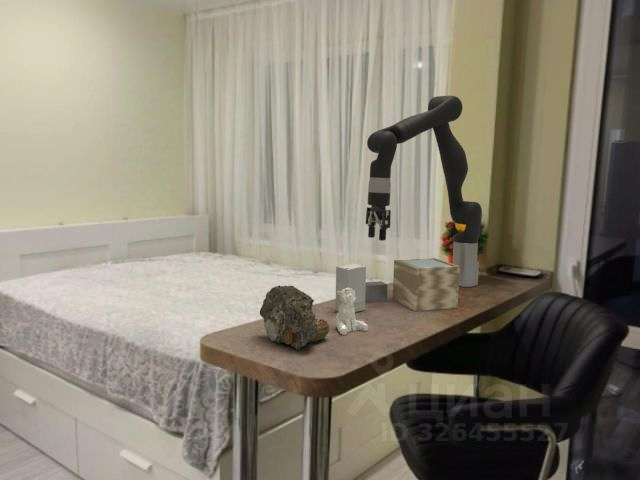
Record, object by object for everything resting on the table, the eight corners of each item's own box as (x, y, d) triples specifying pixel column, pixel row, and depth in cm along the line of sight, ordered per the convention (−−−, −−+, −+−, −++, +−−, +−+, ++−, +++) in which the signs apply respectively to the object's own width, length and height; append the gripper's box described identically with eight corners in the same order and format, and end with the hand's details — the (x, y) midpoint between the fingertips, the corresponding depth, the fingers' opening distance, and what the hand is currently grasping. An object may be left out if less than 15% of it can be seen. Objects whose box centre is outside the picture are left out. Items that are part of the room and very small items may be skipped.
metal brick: (380, 297, 186) (381, 281, 186) (386, 301, 182) (387, 284, 181) (359, 299, 184) (360, 282, 183) (365, 302, 179) (366, 285, 178)
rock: (262, 280, 132) (311, 265, 140) (251, 311, 142) (297, 295, 150) (297, 341, 124) (347, 320, 132) (283, 368, 134) (330, 348, 142)
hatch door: (432, 261, 186) (433, 259, 185) (452, 268, 173) (453, 265, 173) (399, 263, 181) (399, 260, 181) (417, 270, 169) (417, 267, 169)
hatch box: (432, 296, 189) (434, 258, 187) (457, 307, 174) (459, 266, 172) (392, 299, 184) (394, 260, 182) (414, 311, 169) (416, 268, 167)
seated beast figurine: (341, 336, 143) (342, 293, 141) (324, 327, 150) (325, 287, 148) (369, 331, 148) (370, 289, 146) (351, 323, 155) (352, 283, 153)
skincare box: (353, 306, 173) (354, 262, 171) (366, 310, 169) (367, 265, 167) (334, 310, 168) (335, 265, 166) (346, 315, 163) (347, 268, 161)
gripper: (399, 192, 172) (396, 241, 174) (379, 191, 185) (377, 236, 187) (378, 191, 169) (375, 241, 171) (360, 190, 183) (358, 236, 185)
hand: (376, 238), depth 179 cm, fingers open, 8 cm apart
